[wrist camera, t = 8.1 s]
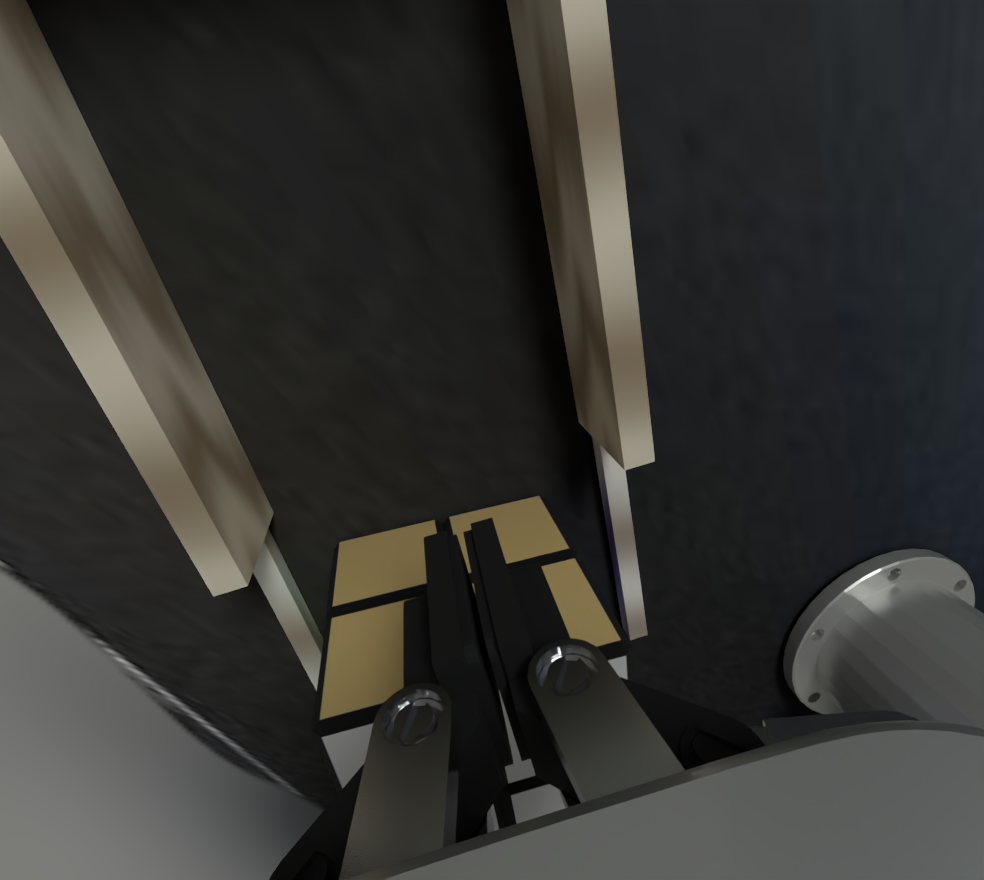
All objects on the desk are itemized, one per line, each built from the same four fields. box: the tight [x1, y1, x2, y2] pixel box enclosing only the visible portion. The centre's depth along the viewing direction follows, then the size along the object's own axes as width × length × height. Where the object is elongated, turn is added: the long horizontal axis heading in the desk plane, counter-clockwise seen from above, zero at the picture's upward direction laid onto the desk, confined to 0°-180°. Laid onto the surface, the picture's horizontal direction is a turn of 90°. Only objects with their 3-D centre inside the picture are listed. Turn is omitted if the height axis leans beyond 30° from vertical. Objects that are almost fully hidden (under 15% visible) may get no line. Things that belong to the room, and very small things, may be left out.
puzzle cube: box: [311, 496, 633, 831], centre depth 22 cm, size 10×10×10 cm
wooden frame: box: [0, 0, 655, 691], centre depth 19 cm, size 35×17×5 cm, turn 13°
